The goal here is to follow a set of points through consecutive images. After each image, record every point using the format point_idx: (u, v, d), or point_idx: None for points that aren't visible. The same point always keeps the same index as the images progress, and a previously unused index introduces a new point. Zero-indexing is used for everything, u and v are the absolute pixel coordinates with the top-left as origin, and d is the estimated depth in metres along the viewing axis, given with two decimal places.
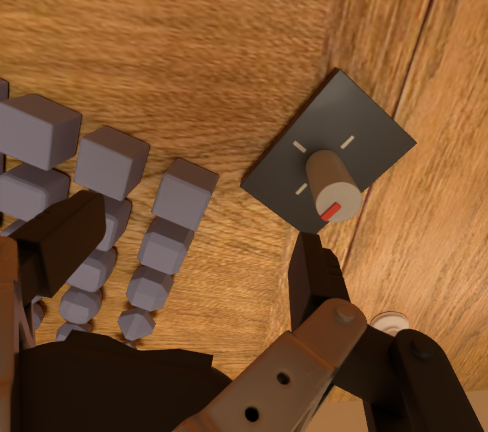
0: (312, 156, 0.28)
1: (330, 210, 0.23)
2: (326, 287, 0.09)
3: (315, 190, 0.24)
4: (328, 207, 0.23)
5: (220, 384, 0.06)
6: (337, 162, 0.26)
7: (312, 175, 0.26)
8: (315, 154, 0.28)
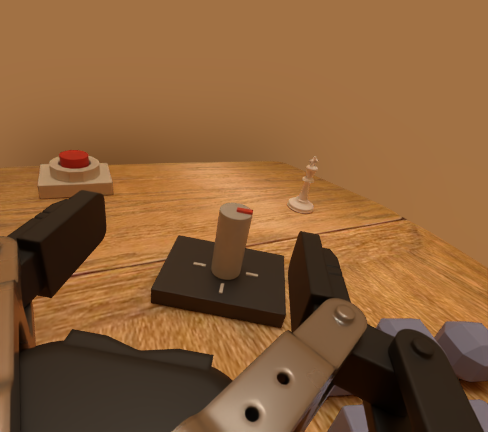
0: (222, 275, 0.33)
1: (243, 210, 0.31)
2: (326, 287, 0.09)
3: (239, 229, 0.30)
4: (242, 213, 0.31)
5: (220, 384, 0.06)
6: (215, 246, 0.33)
7: (233, 251, 0.32)
8: (220, 272, 0.33)
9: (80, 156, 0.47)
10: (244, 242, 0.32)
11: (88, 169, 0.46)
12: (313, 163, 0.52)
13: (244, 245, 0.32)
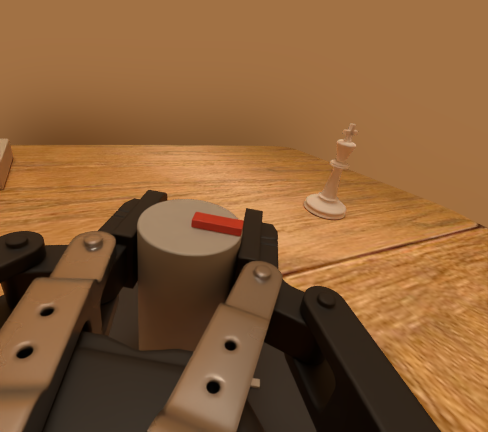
0: None
1: (214, 222, 0.10)
2: (254, 253, 0.10)
3: (197, 286, 0.09)
4: (211, 231, 0.10)
5: None
6: (138, 321, 0.12)
7: (185, 344, 0.10)
8: None
9: None
10: None
11: None
12: (349, 136, 0.31)
13: None
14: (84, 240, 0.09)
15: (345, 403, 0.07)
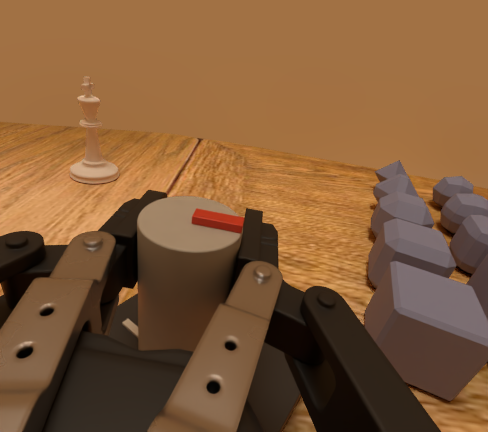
0: None
1: (214, 219, 0.10)
2: (254, 253, 0.10)
3: (197, 283, 0.09)
4: (211, 228, 0.10)
5: None
6: (138, 319, 0.12)
7: (184, 342, 0.10)
8: None
9: None
10: None
11: None
12: (89, 90, 0.29)
13: None
14: (84, 240, 0.09)
15: (346, 403, 0.07)
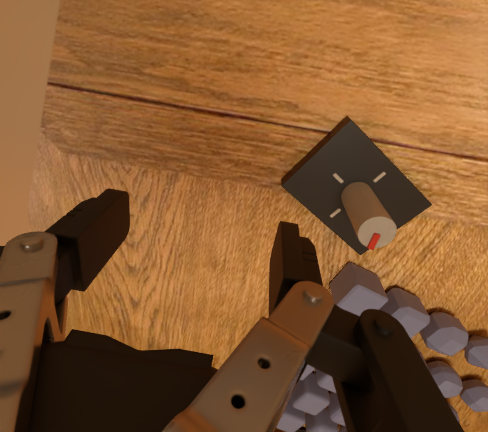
0: (343, 192, 0.34)
1: (372, 241, 0.28)
2: (299, 271, 0.09)
3: (354, 228, 0.29)
4: (370, 238, 0.28)
5: None
6: (364, 195, 0.31)
7: (348, 212, 0.31)
8: (345, 191, 0.33)
9: None
10: None
11: None
12: None
13: None
14: (21, 242, 0.08)
15: None
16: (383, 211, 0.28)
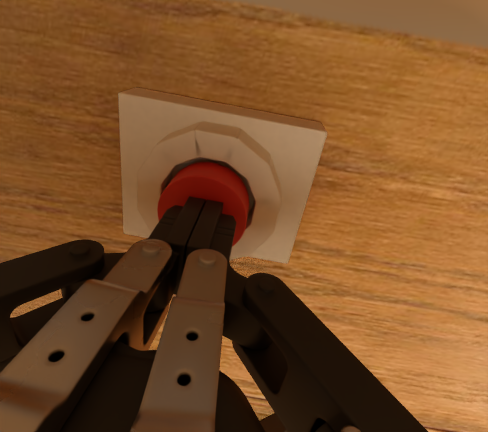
0: None
1: None
2: (205, 241, 0.10)
3: None
4: None
5: (220, 384, 0.06)
6: None
7: None
8: None
9: None
10: None
11: (233, 258, 0.16)
12: None
13: None
14: (142, 247, 0.09)
15: (299, 382, 0.07)
16: None
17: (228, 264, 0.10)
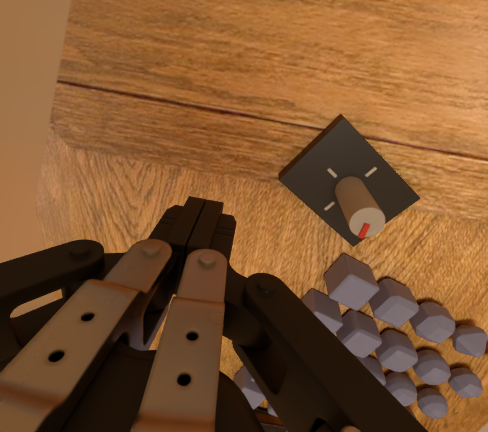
0: (337, 186, 0.36)
1: (363, 230, 0.30)
2: (205, 241, 0.10)
3: (346, 218, 0.31)
4: (361, 228, 0.30)
5: (220, 384, 0.06)
6: (356, 188, 0.33)
7: (341, 205, 0.33)
8: (339, 185, 0.35)
9: None
10: None
11: None
12: None
13: None
14: (143, 247, 0.09)
15: (299, 382, 0.07)
16: (373, 203, 0.30)
17: (228, 264, 0.10)
